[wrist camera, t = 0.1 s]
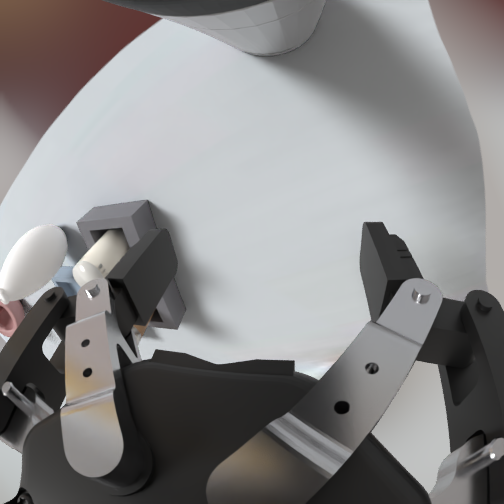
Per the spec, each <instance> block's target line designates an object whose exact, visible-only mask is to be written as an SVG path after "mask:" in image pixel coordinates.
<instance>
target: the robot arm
mask: <svg viewBox="0 0 504 504" xmlns="http://www.w3.org/2000/svg"><path fill="white" fill-rule="evenodd" d="M104 1H106V2H109V3H113V4H116V5H119V6H123V7H127V8H131V9H135V10H138V11H142V12H145V13H149V14H152V15H155V16H158V17H161V18H164V19H167V20H170V21H173V22H176V23H179V24H182V25H184V26H187V27H190V28H192V29H195V30H197V31H199V32H202V33H204V34H207V35H209V36H211V37H213V38H216V39H218V40H220V41H222V42H224V43H226V44H228V45H231V46H233V47H235V48H237V49H239V50H241V51H243V52H246V53H249V54H254V55H260V56H273V55H279V54H284V53H287V52H289V51H292V50H294V49H296V48H298V47H299V46H301V45H302V44H303V43H305V42H306V41H307V40H308V39H309V38H310V36H311V35H312V33H313V32H314V30H315V28H316V25H317V23H318V20H319V18H320V16H321V13H322V10H323V8H324V5H325V2H326V0H104ZM176 271H177V258H176V255H175V252H174V248H173V245H172V242H171V238H170V235H169V232H168V231H167V229H151V230H148V231H147V232H146V234H145V235H144V236H143V237H142V238H141V239H140V240H139V241H138V243H136V244H135V245H133V246H132V247H131V248H130V249H129V250H128V251H127V252H126V253H125V256H123V257H122V258H121V259H120V262H118V263H117V264H116V265H115V266H114V267H113V269H112V270H111V271H110V272H109V273H108V275H107V276H106V277H105V278H97V279H93V280H91V281H89V282H87V283H86V284H84V285H83V286H82V287H81V288H80V289H79V291H78V293H77V295H74V296H69V297H67V295H66V293H65V291H64V290H63V288H62V287H54V288H52V289H50V290H48V291H46V292H45V293H44V294H43V295H42V296H41V297H40V298H39V300H38V301H37V302H36V304H35V305H34V306H33V307H32V309H31V310H30V311H29V313H28V314H27V315H26V317H25V318H24V319H23V321H22V322H21V323H20V325H19V326H18V327H17V329H16V330H15V332H14V333H13V335H12V336H11V337H10V339H9V340H8V342H7V343H6V345H5V346H4V348H3V349H2V351H1V353H0V440H1V441H2V442H4V443H5V444H6V445H8V446H9V447H11V448H12V449H15V450H17V451H18V452H20V453H22V474H21V483H20V488H19V491H18V493H17V495H16V496H15V497H14V498H13V499H12V500H10V501H9V502H6V503H4V504H504V311H503V309H502V307H501V305H500V304H499V302H498V301H497V299H496V298H495V297H494V296H492V295H491V294H489V293H488V292H485V291H482V290H473V291H471V292H469V293H468V294H467V296H466V299H465V301H464V302H462V301H456V300H451V299H447V298H443V296H442V292H441V291H440V289H439V288H438V287H437V286H436V285H435V284H434V283H432V282H430V281H428V280H425V279H423V277H422V275H421V273H420V271H419V269H418V267H417V265H416V263H415V261H414V259H413V258H412V255H411V253H410V251H409V249H408V248H407V246H406V244H405V242H404V241H403V240H402V239H400V238H399V237H398V236H397V235H389V233H388V231H387V229H386V227H385V225H384V224H383V222H364V223H363V228H362V240H361V251H360V272H361V276H362V280H363V284H364V288H365V293H366V297H367V302H368V306H369V311H370V315H371V321H369V322H368V323H367V324H366V326H365V327H364V328H363V329H362V331H361V332H360V333H359V334H358V336H357V337H356V338H355V339H354V341H353V342H352V343H351V344H350V346H349V347H348V348H347V349H346V350H345V352H344V353H343V354H342V355H341V356H340V358H339V359H338V360H337V361H336V362H335V363H334V364H333V366H332V367H331V368H330V369H329V370H328V371H327V372H326V373H325V375H324V376H323V377H322V378H321V379H320V380H317V379H315V378H313V377H311V376H308V375H305V374H303V373H299V372H295V361H289V360H259V359H256V360H250V361H243V362H236V363H228V364H214V363H211V362H208V361H205V360H202V359H199V358H197V357H194V356H191V355H189V354H186V353H179V352H172V351H164V350H158V349H156V350H155V352H154V354H153V357H152V359H148V360H142V359H141V355H140V352H139V348H138V344H137V340H136V336H135V333H134V331H133V329H132V327H133V325H140V326H146V325H147V323H148V321H149V319H150V317H151V316H152V314H153V312H154V310H155V309H156V307H157V305H158V303H159V301H160V300H161V298H162V296H163V294H164V293H165V291H166V289H167V287H168V286H169V284H170V282H171V281H172V279H173V277H174V275H175V274H176ZM52 328H53V329H54V330H55V332H56V333H57V335H58V336H59V337H60V339H61V340H62V341H61V343H60V344H59V346H58V348H57V349H56V351H55V353H54V354H53V356H52V358H51V359H50V361H49V360H48V359H47V358H46V356H45V355H44V354H43V351H42V345H43V342H44V340H45V339H46V337H47V336H48V334H49V333H50V331H51V330H52ZM416 360H417V361H422V362H427V363H433V364H438V368H439V373H440V378H441V383H442V388H443V394H444V400H445V406H446V411H447V412H446V413H447V420H448V428H449V439H450V451H451V454H449V455H448V456H447V457H446V458H445V459H444V461H443V462H442V463H441V465H440V467H439V470H438V476H437V481H436V484H435V486H434V488H433V490H432V491H431V493H430V494H429V495H428V493H427V491H426V490H425V489H424V487H423V486H422V485H421V484H420V483H419V482H418V481H417V480H416V479H415V478H414V477H413V476H412V475H411V474H410V473H409V472H408V471H407V470H406V469H405V468H404V467H403V466H402V465H401V464H400V463H399V462H398V461H397V460H396V459H395V458H394V457H393V455H392V454H391V453H390V452H388V450H387V449H386V448H385V447H384V446H383V445H382V444H381V443H380V442H379V441H378V440H377V439H376V438H375V436H374V435H373V434H372V433H371V431H372V430H373V429H374V427H375V426H376V425H377V423H378V422H379V420H380V419H381V417H382V416H383V414H384V413H385V411H386V410H387V408H388V407H389V405H390V404H391V402H392V400H393V399H394V397H395V396H396V394H397V392H398V391H399V389H400V387H401V386H402V384H403V382H404V381H405V379H406V377H407V375H408V373H409V372H410V370H411V368H412V366H413V365H414V363H415V361H416ZM65 396H66V404H65V405H64V406H63V407H62V408H61V409H60V407H61V405H62V402H63V400H64V398H65Z"/></svg>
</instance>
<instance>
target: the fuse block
mask: <svg viewBox="0 0 504 504" xmlns="http://www.w3.org/2000/svg"><path fill="white" fill-rule="evenodd" d="M76 223H77V225H78V228H79V230H80V232H81V235H82V237H83V239H84V242H85V244H86V246H87V248H88V250H90V249H91V247H92V246H93V245H94V244H95V243H96V242H97V241H98V240H99V239H100V238H101V237H102V236H103V235H104V234H105V233H106V232H107V231H108V230H109V229H112V228H122V229H123V231H124V234H125V237H126V239H127V242H128V244H129V247H130V248H131V247H132V246H133V245H135V244H136V243H138V241H139V240H140V239H141V238H142V237H143V236H144V235H145V234H146V232H147V231H148V230H151V229H157V228H156V225H155V222H154V219H153V216H152V213H151V210H150V206H149V203H148V200H142V201H134V202H127V203H120V204H113V205H106V206H100V207H94V208H92V209H91V210H90V211H89V212H88V213H87V214H85V215H84V216H83V217H82V218H81V219H80V220H79V221H78V222H76ZM156 308H157V309H156V311H155V312H154V314H153V316H152V318H151V320H150V322H149V324H148V326H149V327H158V328H167V329H177V330H178V327H179V325H180V323H181V320H182V318H183V316H184V313H185V311H186V308H185V306H184V303H183V301H182V298H181V296H180V293H179V290H178V288H177V285H176V283H175V280H174V277H173V279H172V281H171V282H170V284H169V286H168V287H167V289H166V291H165V293H164V294H163V296H162V298H161V300H160V301H159V303H158V305H157V307H156Z"/></svg>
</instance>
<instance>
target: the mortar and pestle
mask: <svg viewBox="0 0 504 504" xmlns="http://www.w3.org/2000/svg"><path fill="white" fill-rule="evenodd" d="M24 318H25V314H24V309H23V306H22V304H21V302H20V301H19V300H16V301H9V303H8V304H3V303H2V302H1V301H0V333H1V334H3V335H4V336H7V337H11V336H12V335H13V333H14V332H15V330H16V329H17V327H18V326H19V325H20V323H21V322H22V321H23V319H24Z"/></svg>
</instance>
